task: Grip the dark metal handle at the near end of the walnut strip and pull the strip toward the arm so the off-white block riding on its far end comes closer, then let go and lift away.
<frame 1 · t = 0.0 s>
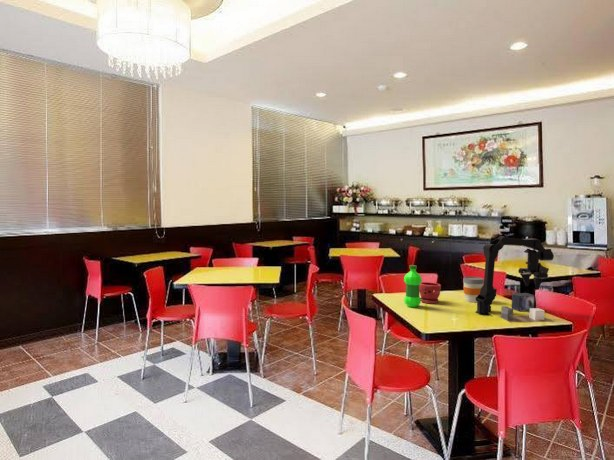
hand: (532, 287, 232), 15 cm above the table, tool pointing down, fingers open, 9 cm apart
small box: (522, 312, 236), on the table
walnut strip: (526, 314, 216), point 4 cm above the table, slide at 0.0 cm, touching off-white block
plastic bottle: (412, 306, 248), on the table
reusable coffee cup: (472, 301, 263), on the table
off-white block: (536, 318, 217), point 1 cm above the table, touching walnut strip
plant pot: (429, 302, 260), on the table
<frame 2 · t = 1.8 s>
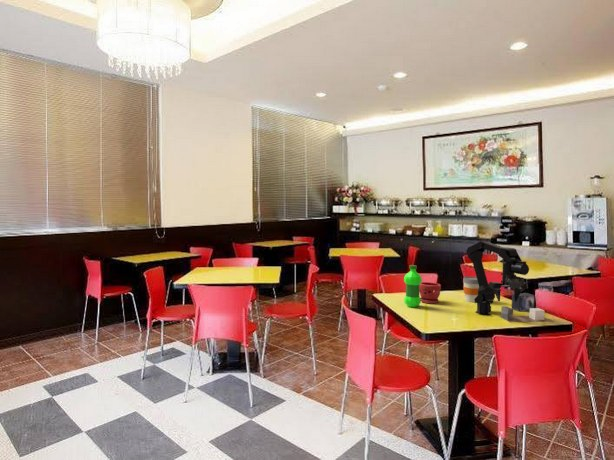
hand: (507, 301, 215), 11 cm above the table, tool pointing down, fingers open, 9 cm apart
nothing on the table moved.
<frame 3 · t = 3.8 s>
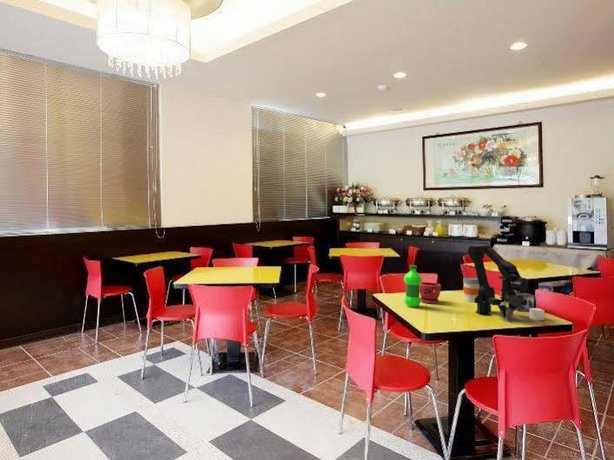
hand: (506, 317, 216), 2 cm above the table, tool pointing down, fingers closed on walnut strip, 3 cm apart
walnut strip: (526, 314, 216), point 4 cm above the table, slide at 0.0 cm, touching gripper, off-white block
everything else where it was.
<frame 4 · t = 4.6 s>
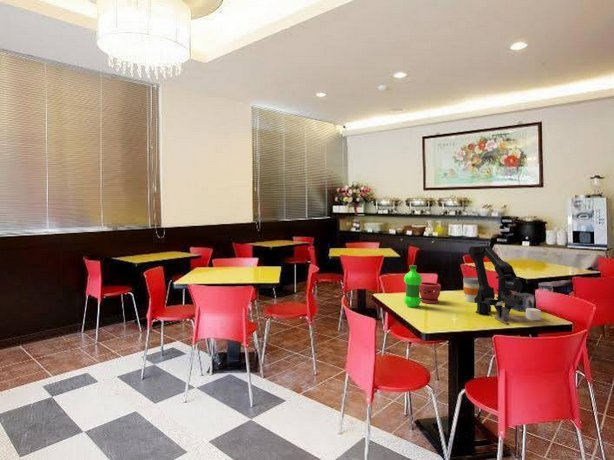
hand: (503, 317, 215), 2 cm above the table, tool pointing down, fingers closed on walnut strip, 3 cm apart
walnut strip: (522, 314, 216), point 4 cm above the table, slide at 2.1 cm, touching gripper, off-white block
off-white block: (532, 318, 217), point 1 cm above the table, touching walnut strip
everything else where it was.
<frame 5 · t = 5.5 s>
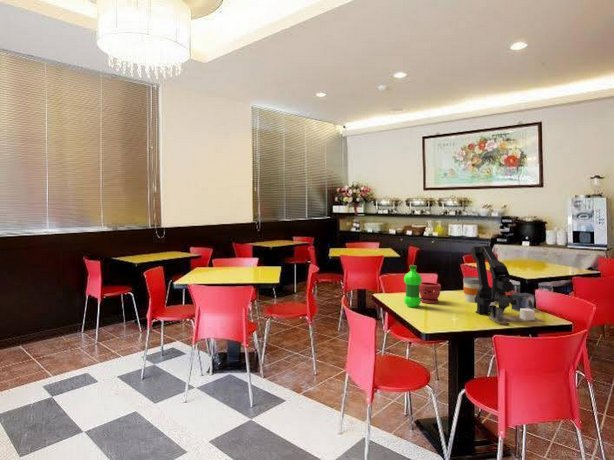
hand: (497, 317, 215), 2 cm above the table, tool pointing down, fingers closed on walnut strip, 3 cm apart
walnut strip: (516, 314, 216), point 4 cm above the table, slide at 5.4 cm, touching gripper, off-white block
off-white block: (526, 318, 216), point 1 cm above the table, touching walnut strip
everything else where it was.
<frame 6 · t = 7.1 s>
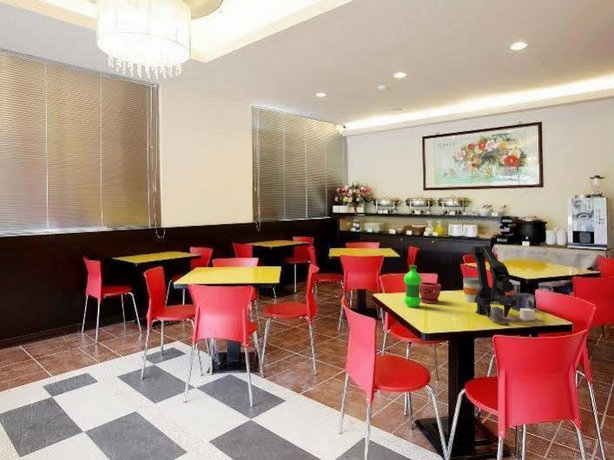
hand: (497, 317, 215), 2 cm above the table, tool pointing down, fingers open, 9 cm apart
walnut strip: (516, 314, 216), point 4 cm above the table, slide at 5.4 cm, touching off-white block
everything else where it was.
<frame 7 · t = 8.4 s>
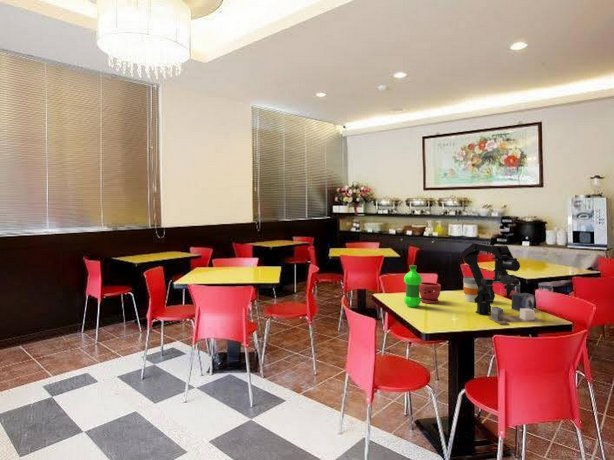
hand: (499, 297, 220), 12 cm above the table, tool pointing down, fingers open, 9 cm apart
nothing on the table moved.
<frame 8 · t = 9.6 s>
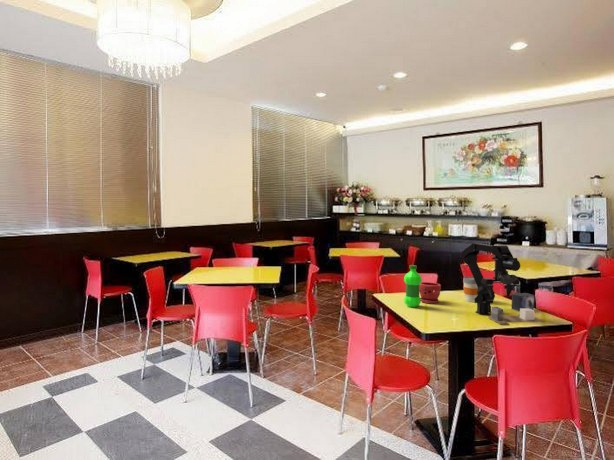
hand: (499, 297, 220), 12 cm above the table, tool pointing down, fingers open, 9 cm apart
nothing on the table moved.
at the end: walnut strip slide at 5.4 cm; off-white block inside the target area on the walnut strip (0.0 cm from its centre), point 1.3 cm above the walnut strip's base; off-white block moved 5.4 cm from its start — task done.
